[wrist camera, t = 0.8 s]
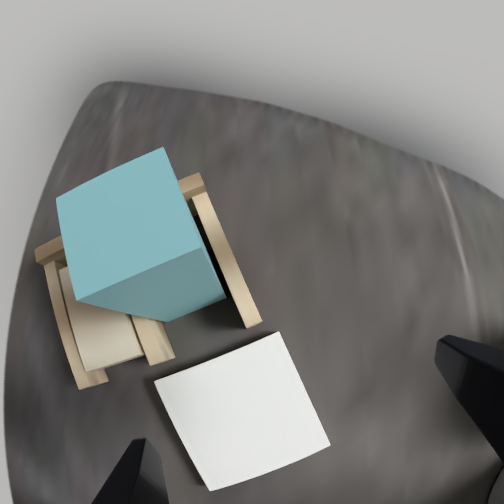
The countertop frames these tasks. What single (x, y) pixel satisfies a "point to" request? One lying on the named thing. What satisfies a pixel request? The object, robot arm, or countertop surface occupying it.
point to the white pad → (243, 413)
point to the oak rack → (146, 328)
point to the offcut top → (100, 331)
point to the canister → (497, 490)
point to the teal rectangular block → (137, 243)
